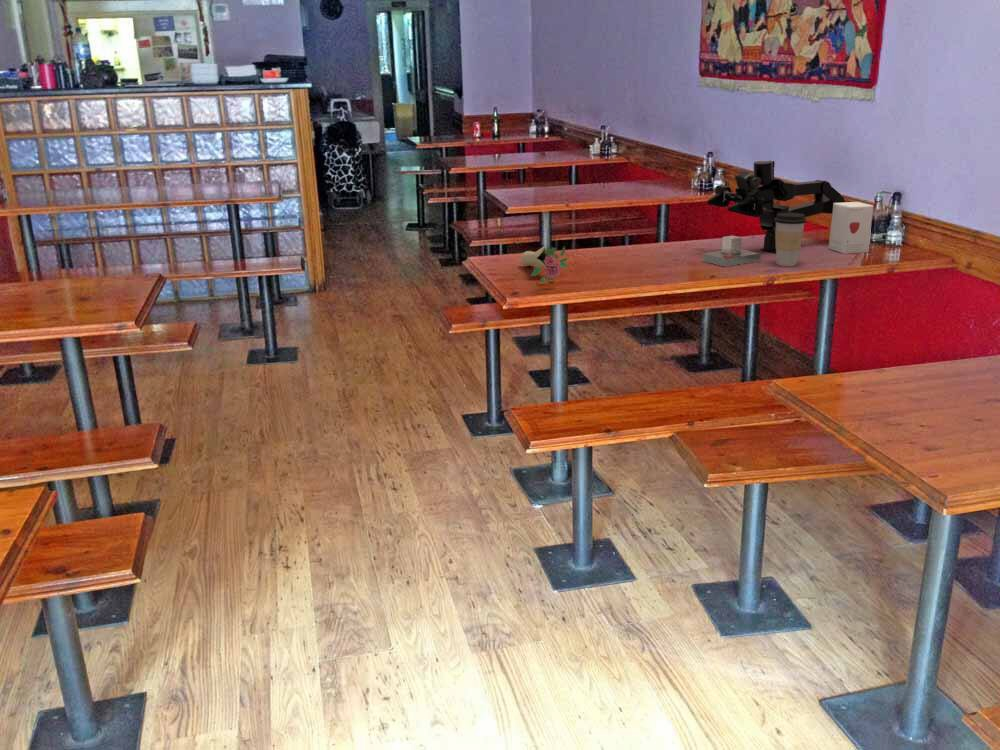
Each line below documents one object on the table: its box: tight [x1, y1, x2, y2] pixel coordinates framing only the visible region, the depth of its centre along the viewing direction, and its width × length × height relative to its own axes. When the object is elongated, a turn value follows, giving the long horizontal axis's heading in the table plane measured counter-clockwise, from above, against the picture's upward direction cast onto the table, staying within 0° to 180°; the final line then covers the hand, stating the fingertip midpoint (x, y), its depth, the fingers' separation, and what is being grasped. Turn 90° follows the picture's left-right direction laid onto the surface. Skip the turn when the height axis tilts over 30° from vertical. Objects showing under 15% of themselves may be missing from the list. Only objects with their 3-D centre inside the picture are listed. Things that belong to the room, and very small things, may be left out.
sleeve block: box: [701, 248, 761, 267], centre depth 286 cm, size 14×10×3 cm
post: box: [721, 235, 743, 255], centre depth 285 cm, size 4×4×7 cm
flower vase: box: [520, 245, 569, 283], centre depth 267 cm, size 12×12×35 cm
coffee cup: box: [774, 213, 808, 267], centre depth 279 cm, size 9×9×15 cm
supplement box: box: [828, 201, 874, 255], centre depth 296 cm, size 9×9×15 cm
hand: (717, 205), depth 284 cm, fingers open, 9 cm apart
